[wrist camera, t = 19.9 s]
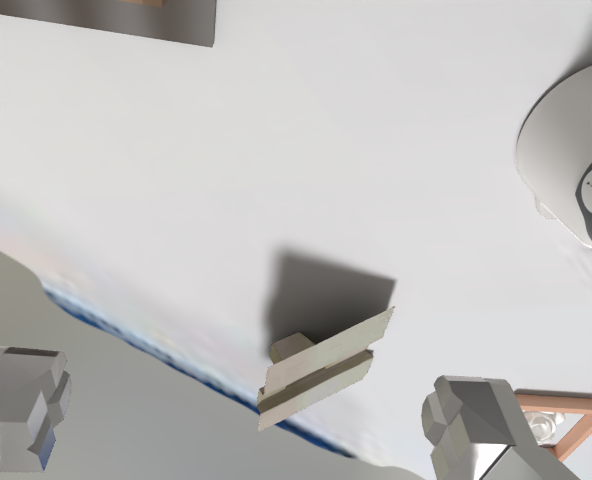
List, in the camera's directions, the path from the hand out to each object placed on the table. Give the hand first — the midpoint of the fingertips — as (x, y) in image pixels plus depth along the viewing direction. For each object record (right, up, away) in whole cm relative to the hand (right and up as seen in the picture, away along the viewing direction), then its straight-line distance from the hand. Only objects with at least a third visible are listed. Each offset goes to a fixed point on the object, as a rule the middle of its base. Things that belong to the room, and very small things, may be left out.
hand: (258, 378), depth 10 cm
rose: (+39, -25, +66) cm, 81 cm away
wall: (+4, -10, +52) cm, 53 cm away
